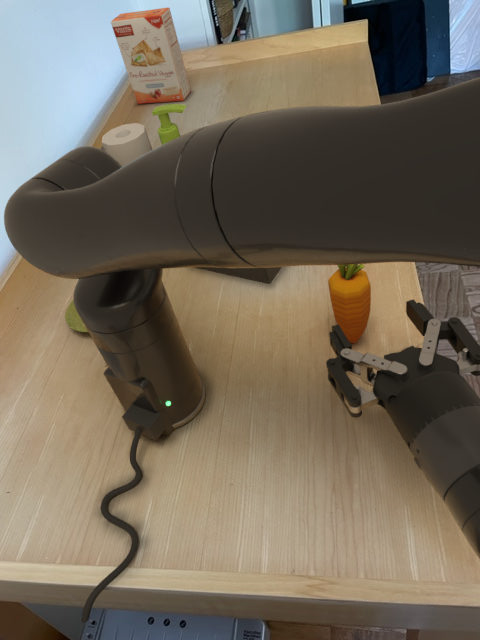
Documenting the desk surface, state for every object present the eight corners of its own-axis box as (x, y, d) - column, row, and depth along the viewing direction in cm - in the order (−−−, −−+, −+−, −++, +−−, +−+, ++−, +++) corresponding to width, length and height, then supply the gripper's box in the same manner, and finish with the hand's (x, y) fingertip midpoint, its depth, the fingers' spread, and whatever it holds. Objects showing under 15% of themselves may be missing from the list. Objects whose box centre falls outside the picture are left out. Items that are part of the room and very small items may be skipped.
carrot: (326, 339, 70) (315, 248, 60) (358, 323, 71) (353, 231, 61) (347, 362, 67) (339, 270, 57) (381, 345, 68) (379, 252, 58)
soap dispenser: (209, 220, 96) (179, 113, 83) (174, 222, 98) (138, 117, 85) (216, 202, 100) (188, 96, 87) (182, 204, 102) (150, 101, 89)
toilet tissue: (95, 178, 118) (79, 141, 112) (150, 155, 120) (138, 118, 114) (105, 194, 111) (89, 156, 105) (163, 170, 114) (151, 132, 108)
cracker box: (137, 105, 144) (108, 21, 129) (146, 95, 148) (119, 12, 133) (184, 102, 139) (160, 13, 125) (192, 92, 143) (169, 5, 129)
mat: (150, 316, 81) (146, 307, 79) (81, 352, 78) (76, 343, 77) (125, 280, 89) (121, 271, 87) (62, 311, 86) (56, 302, 85)
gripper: (537, 384, 44) (435, 271, 56) (375, 441, 43) (306, 314, 55) (522, 435, 49) (431, 321, 61) (377, 486, 48) (313, 361, 60)
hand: (372, 318), depth 58 cm, fingers open, 8 cm apart
